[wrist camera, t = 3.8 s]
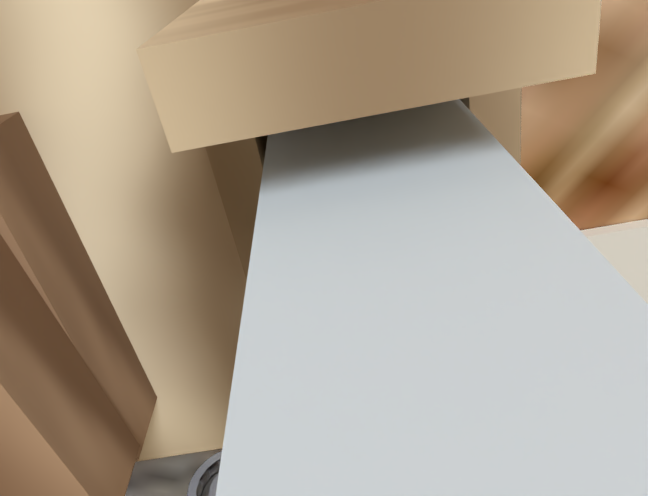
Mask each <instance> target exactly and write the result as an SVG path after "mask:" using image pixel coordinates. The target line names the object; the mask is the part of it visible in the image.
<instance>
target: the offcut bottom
mask: <svg viewBox="0 0 648 496" xmlns="http://www.w3.org/2000/svg"><path fill="white" fill-rule="evenodd" d="M0 234H1V236H2V237H3V239H4V240H5V242H6V243H7V245H8V246H9V248H10V249H11V251H12V252H13V254H14V255H15V257H16V258H17V260H18V261H19V263H20V264H21V266H22V267H23V269H24V271H25V272H26V274H27V275H28V277H29V278H30V280H31V281H32V283H33V284H34V286H35V287H36V289H37V290H38V292H39V293H40V295H41V296H42V298H43V299H44V301H45V302H46V304H47V305H48V307H49V308H50V310H51V311H52V313H53V314H54V316H55V318H56V319H57V321H58V322H59V324H60V325H61V327H62V328H63V330H64V331H65V333H66V334H67V336H68V337H69V339H70V340H71V342H72V343H73V345H74V346H75V348H76V349H77V351H78V352H79V354H80V355H81V357H82V358H83V360H84V361H85V363H86V365H87V366H88V368H89V369H90V371H91V372H92V374H93V375H94V377H95V378H96V380H97V381H98V383H99V384H100V386H101V387H102V389H103V390H104V392H105V393H106V395H107V396H108V398H109V399H110V401H111V402H112V404H113V405H114V407H115V408H116V410H117V412H118V413H119V415H120V416H121V418H122V419H123V421H124V422H125V424H126V425H127V427H128V428H129V430H130V431H131V433H132V434H133V436H134V437H135V439H136V440H137V442H138V443H139V445H140V447H139V450H138V454H137V457H136V460H135V461H139V458H140V454H141V451H142V447H143V444H144V441H145V437H146V434H147V431H148V427H149V424H150V421H151V417H152V414H153V411H154V407H155V404H156V400H157V396H156V394H155V392H154V389H153V387H152V385H151V383H150V381H149V379H148V377H147V375H146V373H145V371H144V369H143V367H142V365H141V363H140V361H139V359H138V356H137V354H136V352H135V350H134V348H133V346H132V344H131V342H130V340H129V338H128V336H127V334H126V332H125V330H124V328H123V325H122V323H121V321H120V319H119V317H118V315H117V313H116V311H115V309H114V307H113V305H112V303H111V301H110V299H109V297H108V294H107V292H106V290H105V288H104V286H103V284H102V282H101V280H100V278H99V276H98V274H97V272H96V270H95V268H94V266H93V264H92V261H91V259H90V257H89V255H88V253H87V251H86V249H85V247H84V245H83V243H82V241H81V239H80V237H79V235H78V233H77V230H76V228H75V226H74V224H73V222H72V220H71V218H70V216H69V214H68V212H67V210H66V208H65V206H64V204H63V202H62V199H61V197H60V195H59V193H58V191H57V189H56V187H55V185H54V183H53V181H52V179H51V177H50V175H49V173H48V171H47V169H46V166H45V164H44V162H43V160H42V158H41V156H40V154H39V152H38V150H37V148H36V146H35V144H34V142H33V140H32V138H31V135H30V133H29V131H28V129H27V127H26V125H25V123H24V121H23V119H22V117H21V115H20V113H19V112H14V113H9V114H4V115H0Z"/></svg>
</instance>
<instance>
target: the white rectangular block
mask: <svg viewBox="0 0 648 496" xmlns="http://www.w3.org/2000/svg"><path fill="white" fill-rule="evenodd" d="M216 496H648V304H647V303H646V302H645V301H644V300H643V298H642V297H641V296H640V295H639V294H638V293H637V292H636V291H635V290H634V289H633V288H632V287H631V285H630V284H629V283H628V282H627V281H626V280H625V279H624V278H623V277H622V276H621V275H620V273H619V272H618V271H617V270H616V269H615V268H614V267H613V266H612V265H611V264H610V263H609V261H608V260H607V259H606V258H605V257H604V256H603V255H602V254H601V253H600V252H599V251H598V249H597V248H596V247H595V246H594V245H593V244H592V243H591V242H590V241H589V240H588V239H587V237H586V236H585V235H584V234H583V233H582V232H581V231H580V230H579V229H578V228H577V227H576V226H575V224H574V223H573V222H572V221H571V220H570V219H569V218H568V217H567V216H566V215H565V214H564V212H563V211H562V210H561V209H560V208H559V207H558V206H557V205H556V204H555V203H554V202H553V200H552V199H551V198H550V197H549V196H548V195H547V194H546V193H545V192H544V191H543V190H542V188H541V187H540V186H539V185H538V184H537V183H536V182H535V181H534V180H533V179H532V178H531V176H530V175H529V174H528V173H527V172H526V171H525V170H524V169H523V168H522V167H521V166H520V164H519V163H518V162H517V161H516V160H515V159H514V158H513V157H512V156H511V155H510V154H509V153H508V151H507V150H506V149H505V148H504V147H503V146H502V145H501V144H500V143H499V142H498V141H497V139H496V138H495V137H494V136H493V135H492V134H491V133H490V132H489V131H488V130H487V129H486V127H485V126H484V125H483V124H482V123H481V122H480V121H479V120H478V119H477V118H476V117H475V115H474V114H473V113H472V112H471V111H470V110H469V109H468V108H467V107H466V106H465V105H464V103H463V102H462V101H461V100H460V99H457V100H452V101H447V102H441V103H436V104H431V105H425V106H420V107H415V108H409V109H404V110H399V111H393V112H388V113H383V114H377V115H372V116H367V117H361V118H356V119H351V120H345V121H340V122H335V123H329V124H324V125H319V126H313V127H308V128H302V129H297V130H292V131H286V132H281V133H276V134H270V135H268V138H267V144H266V151H265V158H264V165H263V172H262V179H261V186H260V193H259V200H258V206H257V213H256V220H255V227H254V234H253V241H252V248H251V255H250V262H249V268H248V275H247V282H246V289H245V296H244V303H243V310H242V317H241V324H240V330H239V337H238V344H237V351H236V358H235V365H234V372H233V379H232V386H231V392H230V399H229V406H228V413H227V420H226V427H225V434H224V441H223V448H222V454H221V461H220V468H219V475H218V482H217V489H216Z"/></svg>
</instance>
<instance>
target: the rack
mask: <svg viewBox="0 0 648 496" xmlns="http://www.w3.org/2000/svg"><path fill="white" fill-rule="evenodd" d="M601 4H602V0H0V115H4V114H9V113H14V112H19V113H20V115H21V117H22V119H23V121H24V123H25V125H26V127H27V129H28V131H29V133H30V135H31V138H32V140H33V142H34V144H35V146H36V148H37V150H38V152H39V154H40V156H41V158H42V160H43V162H44V164H45V166H46V169H47V171H48V173H49V175H50V177H51V179H52V181H53V183H54V185H55V187H56V189H57V191H58V193H59V195H60V197H61V199H62V202H63V204H64V206H65V208H66V210H67V212H68V214H69V216H70V218H71V220H72V222H73V224H74V226H75V228H76V230H77V233H78V235H79V237H80V239H81V241H82V243H83V245H84V247H85V249H86V251H87V253H88V255H89V257H90V259H91V261H92V264H93V266H94V268H95V270H96V272H97V274H98V276H99V278H100V280H101V282H102V284H103V286H104V288H105V290H106V292H107V294H108V297H109V299H110V301H111V303H112V305H113V307H114V309H115V311H116V313H117V315H118V317H119V319H120V321H121V323H122V325H123V328H124V330H125V332H126V334H127V336H128V338H129V340H130V342H131V344H132V346H133V348H134V350H135V352H136V354H137V356H138V359H139V361H140V363H141V365H142V367H143V369H144V371H145V373H146V375H147V377H148V379H149V381H150V383H151V385H152V387H153V389H154V392H155V394H156V396H157V400H156V404H155V407H154V411H153V414H152V417H151V421H150V424H149V427H148V431H147V434H146V437H145V441H144V444H143V447H142V451H141V454H140V458H139V461H143V460H150V459H156V458H163V457H169V456H176V455H182V454H189V453H195V452H202V451H208V450H215V449H221V448H223V441H224V434H225V427H226V420H227V413H228V406H229V399H230V392H231V386H232V379H233V372H234V365H235V358H236V351H237V344H238V337H239V330H240V324H241V317H242V310H243V303H244V296H245V289H246V282H247V275H248V268H249V262H250V255H251V248H252V241H253V234H254V227H255V220H256V213H257V206H258V200H259V193H260V186H261V179H262V172H263V165H264V158H265V151H266V144H267V138H268V135H270V134H276V133H281V132H286V131H292V130H297V129H302V128H308V127H313V126H319V125H324V124H329V123H335V122H340V121H345V120H351V119H356V118H361V117H367V116H372V115H377V114H383V113H388V112H393V111H399V110H404V109H409V108H415V107H420V106H425V105H431V104H436V103H441V102H447V101H452V100H457V99H460V100H461V101H462V102H463V103H464V105H465V106H466V107H467V108H468V109H469V110H470V111H471V112H472V113H473V114H474V115H475V117H476V118H477V119H478V120H479V121H480V122H481V123H482V124H483V125H484V126H485V127H486V129H487V130H488V131H489V132H490V133H491V134H492V135H493V136H494V137H495V138H496V139H497V141H498V142H499V143H500V144H501V145H502V146H503V147H504V148H505V149H506V150H507V151H508V153H509V154H510V155H511V156H512V157H513V158H514V159H515V160H516V161H517V162H518V163H519V164H520V166H521V105H522V87H527V86H532V85H537V84H543V83H548V82H553V81H559V80H564V79H569V78H575V77H580V76H585V75H591V74H596V62H597V51H598V39H599V27H600V15H601ZM135 462H137V461H135Z"/></svg>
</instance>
